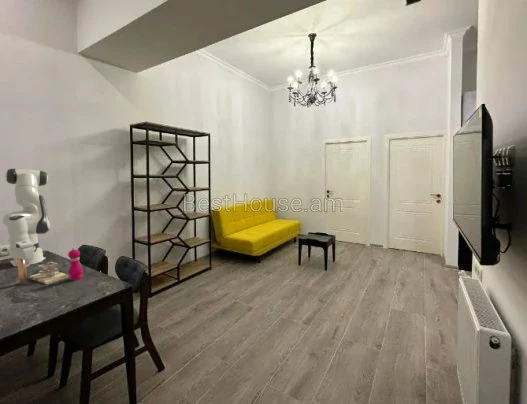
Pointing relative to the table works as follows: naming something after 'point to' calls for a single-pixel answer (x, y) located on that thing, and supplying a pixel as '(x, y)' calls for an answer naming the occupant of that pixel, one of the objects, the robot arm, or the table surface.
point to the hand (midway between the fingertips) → (22, 265)
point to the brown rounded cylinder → (22, 271)
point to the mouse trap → (48, 273)
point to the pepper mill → (75, 265)
